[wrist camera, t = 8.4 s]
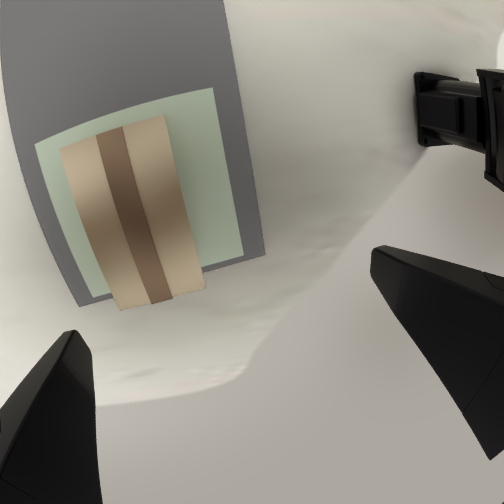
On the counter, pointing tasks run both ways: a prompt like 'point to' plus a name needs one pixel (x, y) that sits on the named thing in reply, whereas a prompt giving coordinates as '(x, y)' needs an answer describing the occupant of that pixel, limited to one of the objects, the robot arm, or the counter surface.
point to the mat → (129, 115)
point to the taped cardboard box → (134, 212)
